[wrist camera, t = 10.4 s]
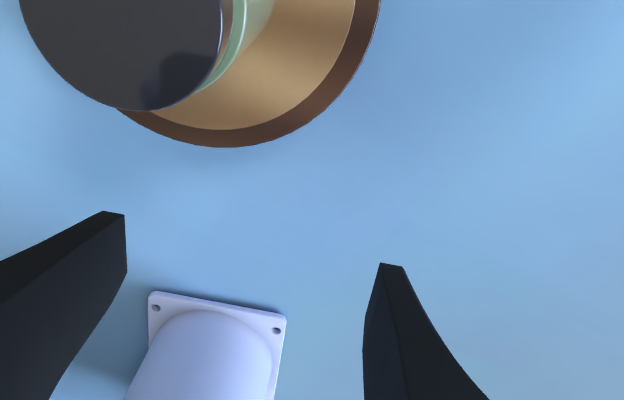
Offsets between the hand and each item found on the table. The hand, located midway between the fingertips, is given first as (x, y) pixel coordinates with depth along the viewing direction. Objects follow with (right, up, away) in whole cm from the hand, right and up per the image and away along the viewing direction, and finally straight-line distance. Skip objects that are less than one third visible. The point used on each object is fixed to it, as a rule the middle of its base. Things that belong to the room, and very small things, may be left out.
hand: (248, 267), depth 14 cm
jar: (-2, +10, +4) cm, 11 cm away
